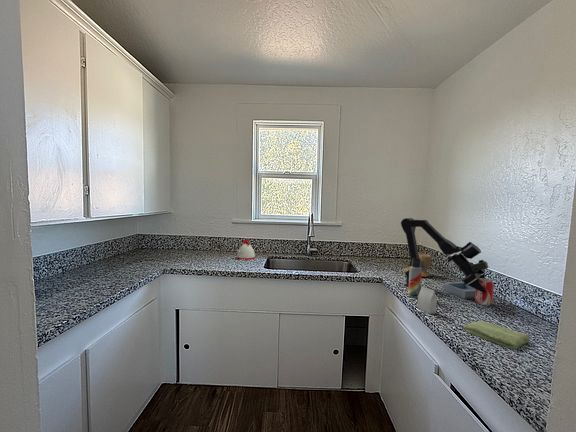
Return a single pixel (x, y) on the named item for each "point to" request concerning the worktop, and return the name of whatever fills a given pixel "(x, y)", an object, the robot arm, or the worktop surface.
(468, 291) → the bin
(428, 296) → the tea bag
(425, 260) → the stone cup
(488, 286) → the soda can
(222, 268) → the worktop surface
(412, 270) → the lotion bottle
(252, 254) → the white rounded cone
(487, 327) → the washcloth
